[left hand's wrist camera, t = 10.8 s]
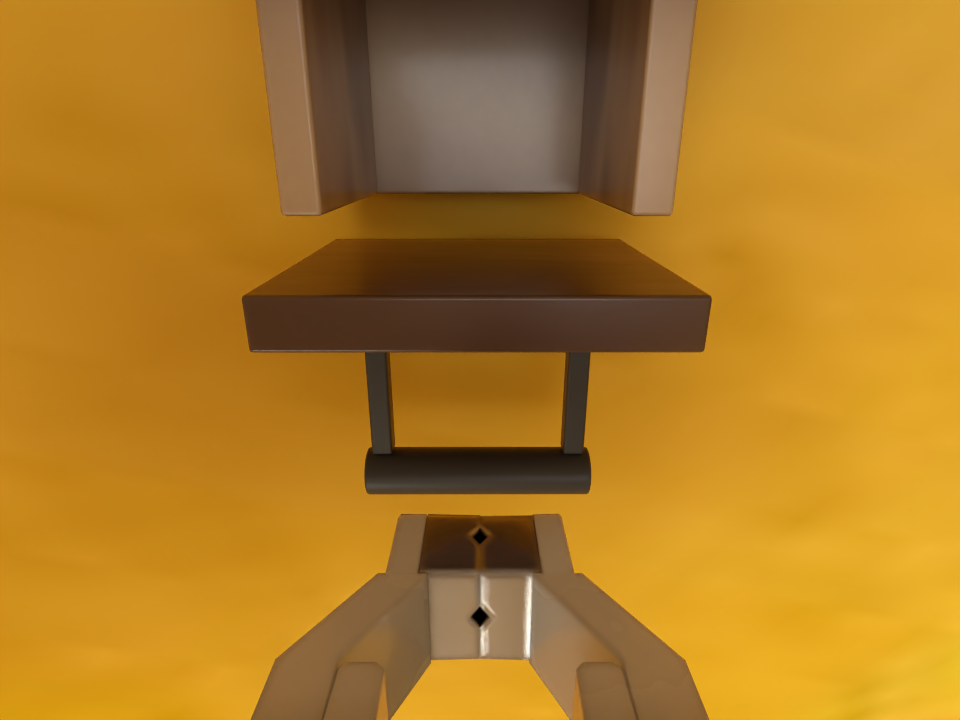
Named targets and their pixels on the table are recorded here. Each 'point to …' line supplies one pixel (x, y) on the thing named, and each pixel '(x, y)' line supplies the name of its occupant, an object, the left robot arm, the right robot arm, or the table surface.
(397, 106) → the drawer
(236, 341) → the table surface
